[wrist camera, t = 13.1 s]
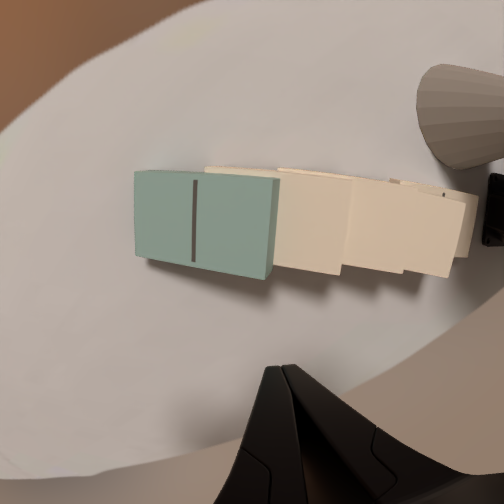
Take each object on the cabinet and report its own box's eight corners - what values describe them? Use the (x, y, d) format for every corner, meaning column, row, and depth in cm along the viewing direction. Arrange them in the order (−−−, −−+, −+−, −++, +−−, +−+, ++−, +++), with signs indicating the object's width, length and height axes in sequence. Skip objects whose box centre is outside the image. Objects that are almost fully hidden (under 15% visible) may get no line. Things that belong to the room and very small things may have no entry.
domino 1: (135, 255, 18) (264, 280, 16) (134, 171, 17) (272, 179, 14) (150, 248, 20) (272, 270, 17) (150, 170, 18) (280, 178, 16)
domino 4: (346, 175, 19) (457, 200, 18) (334, 248, 21) (441, 270, 19) (346, 176, 18) (466, 203, 16) (333, 255, 19) (447, 278, 18)
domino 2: (216, 166, 19) (352, 179, 16) (212, 245, 20) (340, 266, 18) (204, 166, 17) (352, 181, 15) (201, 252, 18) (339, 275, 16)
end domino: (388, 177, 20) (466, 192, 21) (378, 247, 21) (455, 251, 22) (400, 180, 18) (479, 196, 19) (389, 254, 20) (467, 257, 21)
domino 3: (283, 167, 19) (412, 186, 17) (276, 245, 20) (398, 265, 18) (277, 167, 17) (417, 188, 15) (270, 252, 19) (402, 274, 17)
